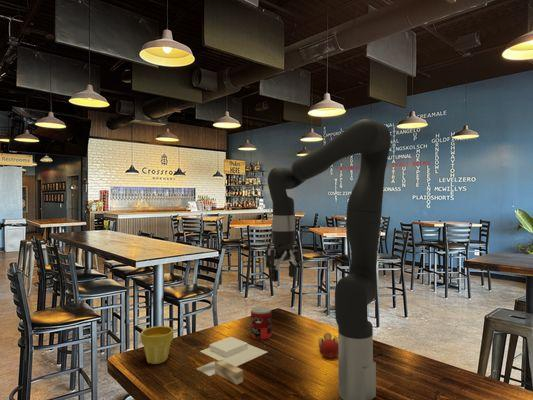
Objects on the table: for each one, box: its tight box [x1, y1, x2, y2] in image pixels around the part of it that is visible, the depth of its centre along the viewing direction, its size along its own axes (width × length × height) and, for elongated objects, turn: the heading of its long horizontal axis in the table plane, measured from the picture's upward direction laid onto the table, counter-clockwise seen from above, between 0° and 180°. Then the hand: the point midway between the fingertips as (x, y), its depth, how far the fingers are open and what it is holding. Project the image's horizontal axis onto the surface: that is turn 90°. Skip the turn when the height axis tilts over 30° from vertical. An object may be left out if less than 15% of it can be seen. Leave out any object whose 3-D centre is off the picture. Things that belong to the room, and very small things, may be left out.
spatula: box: [196, 360, 244, 386], centre depth 112 cm, size 17×7×4 cm, turn 46°
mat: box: [199, 343, 268, 367], centre depth 128 cm, size 18×16×1 cm
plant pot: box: [140, 325, 174, 365], centre depth 123 cm, size 10×10×10 cm
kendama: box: [318, 332, 338, 359], centre depth 131 cm, size 8×6×18 cm
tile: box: [209, 336, 249, 358], centre depth 129 cm, size 2×10×9 cm
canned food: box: [250, 306, 272, 341], centre depth 142 cm, size 8×8×11 cm
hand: (283, 279), depth 118 cm, fingers open, 8 cm apart
